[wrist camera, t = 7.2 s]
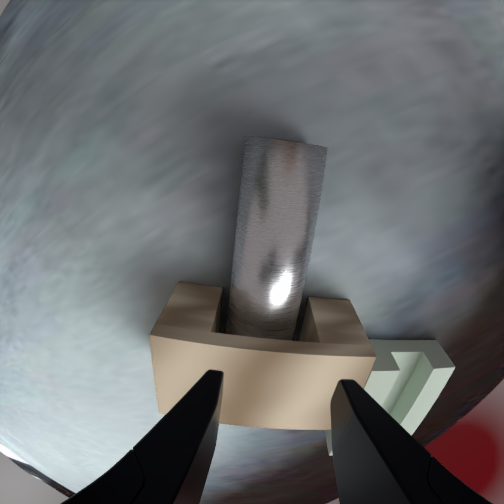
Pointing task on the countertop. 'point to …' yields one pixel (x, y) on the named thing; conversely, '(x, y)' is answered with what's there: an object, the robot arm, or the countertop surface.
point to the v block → (406, 379)
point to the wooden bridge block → (259, 360)
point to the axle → (274, 235)
